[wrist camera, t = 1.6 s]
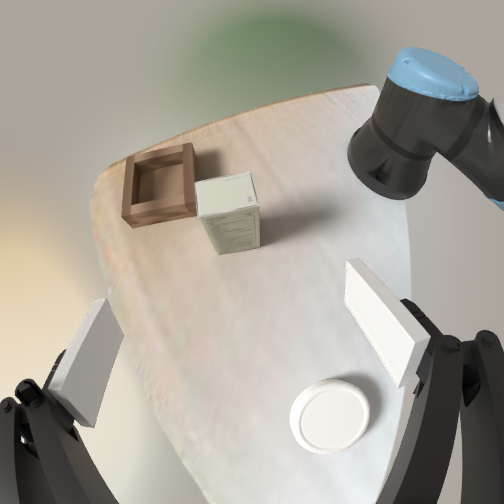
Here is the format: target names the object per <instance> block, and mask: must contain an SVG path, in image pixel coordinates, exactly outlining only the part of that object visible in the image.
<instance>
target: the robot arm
mask: <svg viewBox="0 0 504 504" xmlns="http://www.w3.org/2000/svg"><path fill="white" fill-rule="evenodd" d="M387 74H388V77H387V79H386V81H385V84H384V87H383V90H382V92H381V94H380V97H379V100H378V102H377V104H376V107H375V109H374V112H373V114H372V116H371V118H369V119H368V120H367V121H366V122H365V123H364V124H363V126H362V127H360V128H359V129H358V130H357V131H356V132H355V133H354V134H353V136H352V138H351V140H350V143H349V145H348V150H347V156H348V161H349V164H350V166H351V168H352V170H353V172H354V173H355V174H356V176H357V177H358V178H359V179H360V181H361V182H362V183H364V184H365V185H366V186H367V187H368V188H370V189H371V190H372V191H374V192H376V193H377V194H379V195H382V196H384V197H387V198H390V199H396V200H404V199H408V198H411V197H413V196H414V195H416V194H417V193H418V191H419V190H420V189H421V188H422V186H423V185H424V184H425V181H426V178H427V172H428V169H429V166H430V163H431V159H432V157H433V156H434V155H435V153H436V152H438V153H439V154H441V155H442V156H443V157H445V158H446V159H447V160H448V161H449V162H450V163H452V164H453V165H454V166H455V167H456V168H458V169H459V170H460V171H461V172H462V173H463V174H464V175H465V176H466V177H467V178H469V179H470V180H471V181H472V182H473V183H474V184H475V185H476V186H477V187H478V188H479V189H480V190H481V191H482V192H483V193H484V195H485V196H486V197H487V198H488V199H489V200H491V201H492V202H494V203H495V204H496V205H497V206H498V207H499V208H500V209H502V210H503V211H504V94H497V95H496V96H495V97H494V98H493V99H492V101H491V102H490V103H488V102H487V101H486V100H485V99H484V98H482V97H481V96H480V95H479V94H478V93H479V91H478V89H479V87H478V83H477V82H476V80H475V79H474V78H473V76H472V75H471V74H470V73H468V72H467V71H465V69H464V68H463V67H461V66H460V65H459V64H457V63H456V62H454V61H452V60H451V59H449V58H447V57H445V56H443V55H441V54H439V53H436V52H433V51H430V50H427V49H423V48H417V47H408V48H404V49H402V50H400V51H399V53H398V54H397V55H396V57H395V60H394V62H393V64H392V66H391V67H390V68H389V70H388V72H387ZM344 303H345V304H346V306H347V307H348V309H349V310H350V312H351V314H352V315H353V317H354V318H355V320H356V321H357V323H358V324H359V326H360V327H361V329H362V331H363V332H364V334H365V335H366V337H367V338H368V340H369V342H370V343H371V345H372V346H373V348H374V350H375V351H376V353H377V355H378V356H379V358H380V359H381V361H382V363H383V364H384V366H385V368H386V369H387V371H388V373H389V374H390V376H391V378H392V379H393V381H394V383H395V384H396V386H397V388H399V387H402V386H404V385H406V384H409V383H411V382H412V381H413V379H414V377H415V374H417V375H418V377H419V378H420V380H419V383H418V384H417V386H416V388H415V390H414V392H413V394H415V393H416V395H415V398H414V402H413V406H412V410H411V413H410V417H409V420H408V424H407V427H406V430H405V434H404V436H403V439H402V442H401V446H400V448H399V451H398V454H397V457H396V459H395V462H394V464H393V467H392V470H391V472H390V474H389V476H388V479H387V481H386V483H385V485H384V488H383V490H382V492H381V494H380V496H379V498H378V500H377V502H376V504H437V501H438V498H439V496H440V493H441V490H442V486H443V484H444V480H445V477H446V474H447V470H448V466H449V462H450V458H451V454H452V449H453V445H454V440H455V435H456V429H457V423H458V417H459V411H460V420H461V433H462V454H463V455H462V459H463V464H462V466H463V467H462V470H463V471H462V492H461V504H504V351H503V349H502V346H501V343H500V341H499V339H498V337H497V335H495V334H494V333H493V332H491V331H488V330H482V331H479V332H478V333H477V335H476V337H475V339H474V340H472V341H464V342H461V341H460V340H459V339H458V338H456V337H454V336H451V335H443V334H442V333H441V332H440V331H439V329H438V328H437V327H436V326H435V325H434V324H433V323H432V322H431V321H430V320H429V318H428V317H426V315H425V314H424V313H423V312H422V311H421V310H420V308H418V306H417V305H416V304H415V303H413V302H411V301H410V300H408V299H402V300H399V299H398V298H397V297H396V296H395V295H394V294H393V293H392V292H391V291H390V290H389V289H388V288H387V286H386V285H385V284H384V283H383V282H382V281H381V280H380V279H379V278H378V277H377V276H376V275H375V274H374V273H373V272H372V271H371V270H370V269H369V267H368V266H367V265H366V264H365V263H364V262H363V261H362V260H361V259H360V258H357V259H351V260H347V263H346V283H345V298H344ZM123 337H124V334H123V332H122V330H121V328H120V326H119V324H118V322H117V320H116V318H115V315H114V313H113V311H112V309H111V306H110V304H109V302H108V300H107V298H99V299H95V301H94V302H93V304H92V306H91V307H90V309H89V311H88V313H87V314H86V316H85V318H84V319H83V321H82V323H81V325H80V326H79V328H78V330H77V332H76V333H75V335H74V337H73V339H72V341H71V342H70V344H69V346H68V348H67V349H65V350H64V351H63V352H62V353H61V354H60V355H59V356H58V358H57V360H56V362H55V365H54V366H53V368H52V371H51V372H50V374H49V376H48V378H47V380H46V382H45V384H44V386H43V388H42V390H41V389H40V387H39V386H38V385H37V384H36V383H35V381H34V380H32V379H25V380H23V381H22V382H20V383H19V385H18V386H17V387H16V390H15V396H16V397H17V398H18V399H19V400H20V402H21V404H18V403H17V402H16V401H15V400H14V399H13V398H12V397H7V398H5V399H3V400H2V401H1V403H0V504H119V503H118V501H117V500H116V499H115V497H114V496H113V494H112V493H111V491H110V490H109V488H108V486H107V485H106V483H105V481H104V480H103V478H102V477H101V475H100V473H99V471H98V470H97V468H96V466H95V464H94V463H93V461H92V459H91V457H90V455H89V453H88V451H87V449H86V447H85V446H84V443H83V441H82V439H81V437H80V435H79V433H78V430H77V429H76V427H75V426H74V425H73V423H74V420H76V421H77V422H78V423H79V424H80V425H81V426H85V427H92V428H94V427H95V424H96V420H97V416H98V412H99V409H100V406H101V402H102V399H103V396H104V392H105V389H106V386H107V383H108V380H109V377H110V374H111V370H112V368H113V365H114V362H115V359H116V356H117V353H118V350H119V348H120V345H121V342H122V340H123ZM21 437H23V438H24V439H25V443H22V442H21Z"/></svg>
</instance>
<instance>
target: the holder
mask: <svg viewBox="0 0 504 504" xmlns="http://www.w3.org/2000/svg"><path fill="white" fill-rule="evenodd" d="M195 182H198V173H197V158H196V155H195V151H194V148H193V145H192V142H191V143H186V144H181V145H177V146H172V147H168V148H163V149H159V150H155V151H151V152H147V153H143V154H139V155H135V156H131V157H128V158H127V161H126V169H125V178H124V189H123V201H122V215H121V217H122V218H123V219H124V220H125V221H126V222H127V223H128V224H129V225H130V226H131V227H132V228H136V227H141V226H145V225H150V224H156V223H161V222H166V221H171V220H177V219H182V218H187V217H193V216H197V208H196V197H195Z"/></svg>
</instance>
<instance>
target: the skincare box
mask: <svg viewBox="0 0 504 504" xmlns="http://www.w3.org/2000/svg"><path fill="white" fill-rule="evenodd" d="M195 197H196V208H197V216H198V218H199V220H200V222H201V224H202V226H203V228H204V230H205V232H206V234H207V236H208V238H209V240H210V242H211V244H212V246H213V248H214V250H215V252H216V254H217V255H220V254H227V253H233V252H238V251H244V250H249V249H254V248H258V247H260V217H259V202H258V197H257V192H256V188H255V184H254V180H253V177H252V173H251V172H243V173H237V174H231V175H226V176H221V177H216V178H211V179H207V180H202V181H198V182H195Z"/></svg>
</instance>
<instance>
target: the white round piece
mask: <svg viewBox="0 0 504 504" xmlns="http://www.w3.org/2000/svg"><path fill="white" fill-rule="evenodd" d="M369 420H370V405H369V402H368V399H367V397H366V395H365V394H364V393H363V392H362V391H361V390H360V389H359V388H358V387H356V386H355V385H353V384H350V383H348V382H345V381H342V380H336V379H329V380H323V381H320V382H317V383H315V384H313V385H311V386H309V387H308V388H307V389H305V390H304V391H303V392H302V393H301V394H300V395H299V396H298V398H297V399H296V401H295V402H294V404H293V406H292V409H291V413H290V426H291V429H292V432H293V434H294V436H295V438H296V440H297V441H298V443H299V444H300V445H301V446H303V447H304V448H305V449H307V450H309V451H311V452H314V453H317V454H334V453H338V452H341V451H343V450H345V449H347V448H349V447H350V446H352V445H353V444H354V443H356V442H357V441H358V440H359V439H360V437H361V436H362V435H363V434H364V432H365V430H366V428H367V426H368V423H369Z"/></svg>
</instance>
